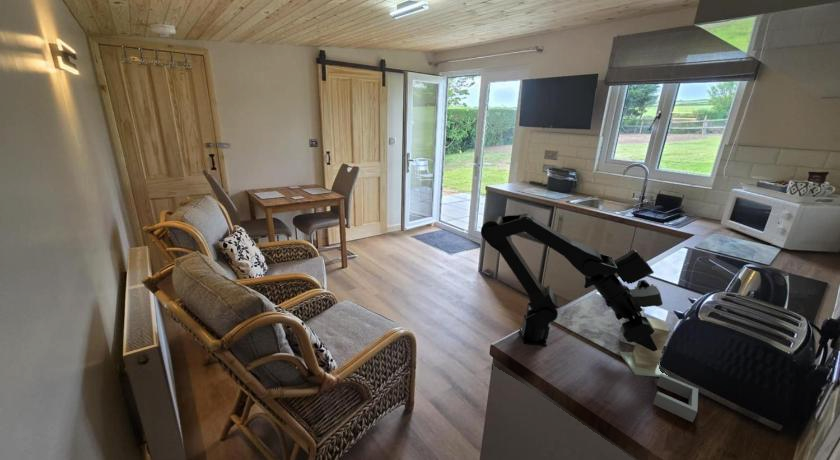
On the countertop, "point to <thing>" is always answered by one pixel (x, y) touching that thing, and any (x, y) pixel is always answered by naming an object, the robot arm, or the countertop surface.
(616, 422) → the countertop surface
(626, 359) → the sage pad
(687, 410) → the grey holder
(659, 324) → the block
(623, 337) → the medicine box
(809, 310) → the countertop surface
